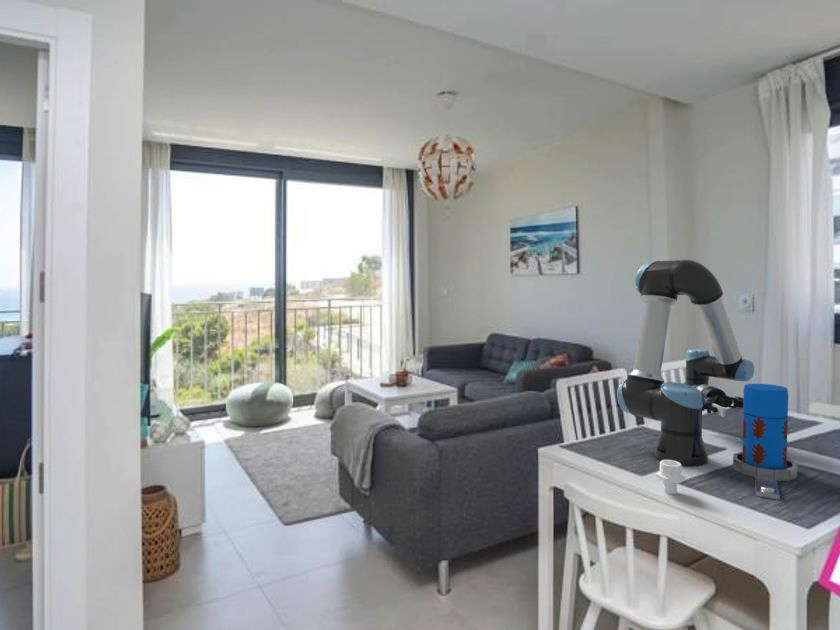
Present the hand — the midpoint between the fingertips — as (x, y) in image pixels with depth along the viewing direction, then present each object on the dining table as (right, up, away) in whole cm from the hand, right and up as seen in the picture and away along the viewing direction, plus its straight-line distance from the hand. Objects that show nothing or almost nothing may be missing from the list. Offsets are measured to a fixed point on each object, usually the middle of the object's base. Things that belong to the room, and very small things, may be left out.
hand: (746, 412), depth 157 cm
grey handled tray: (-1, -16, -9) cm, 18 cm away
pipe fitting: (-35, -17, -22) cm, 44 cm away
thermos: (0, -16, -8) cm, 18 cm away
